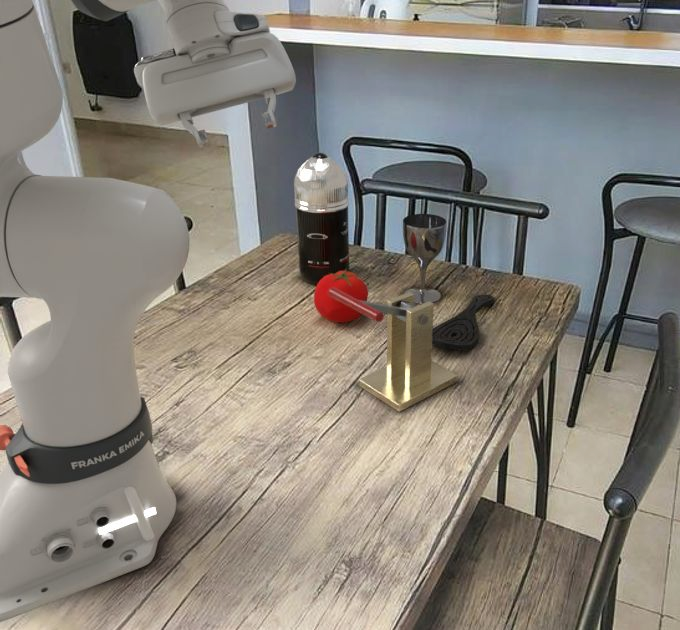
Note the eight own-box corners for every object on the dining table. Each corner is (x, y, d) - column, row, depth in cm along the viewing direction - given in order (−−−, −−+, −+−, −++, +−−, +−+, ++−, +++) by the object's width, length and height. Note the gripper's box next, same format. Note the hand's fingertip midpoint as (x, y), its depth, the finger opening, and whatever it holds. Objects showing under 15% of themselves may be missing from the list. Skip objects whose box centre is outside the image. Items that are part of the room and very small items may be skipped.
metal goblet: (395, 290, 132) (395, 216, 125) (431, 284, 135) (434, 211, 128) (411, 307, 126) (413, 230, 119) (450, 300, 129) (454, 225, 122)
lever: (373, 325, 85) (379, 308, 85) (325, 299, 92) (330, 282, 91) (438, 334, 95) (444, 318, 95) (391, 310, 102) (396, 295, 101)
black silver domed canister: (354, 268, 141) (352, 147, 130) (344, 289, 132) (341, 161, 120) (305, 265, 142) (299, 144, 130) (292, 285, 133) (284, 158, 121)
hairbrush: (511, 289, 127) (461, 342, 106) (509, 307, 129) (460, 363, 108) (470, 281, 130) (413, 330, 109) (468, 298, 132) (412, 350, 111)
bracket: (399, 412, 96) (400, 326, 90) (358, 386, 102) (357, 303, 96) (457, 381, 104) (462, 300, 97) (417, 358, 109) (419, 280, 103)
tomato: (311, 329, 117) (308, 284, 113) (320, 302, 126) (318, 261, 122) (365, 331, 117) (364, 286, 113) (370, 304, 126) (370, 262, 122)
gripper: (123, 49, 89) (157, 149, 88) (275, 11, 92) (308, 107, 92) (135, 70, 95) (167, 163, 95) (277, 34, 98) (308, 123, 98)
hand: (238, 135), depth 93 cm, fingers open, 8 cm apart
